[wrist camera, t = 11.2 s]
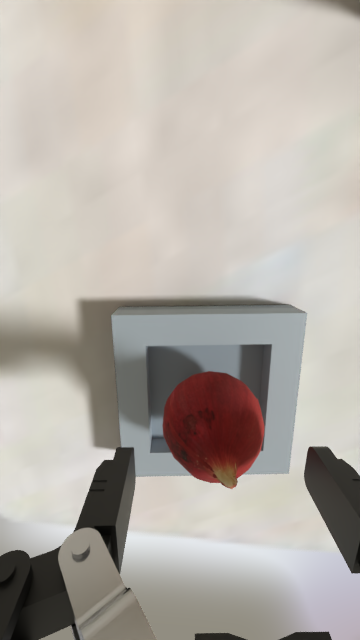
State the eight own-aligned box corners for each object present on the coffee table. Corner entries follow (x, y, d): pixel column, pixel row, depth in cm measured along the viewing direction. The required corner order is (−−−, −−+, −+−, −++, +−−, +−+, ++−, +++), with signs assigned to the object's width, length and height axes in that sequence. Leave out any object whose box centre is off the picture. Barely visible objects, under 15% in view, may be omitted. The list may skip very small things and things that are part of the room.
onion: (163, 422, 20) (152, 529, 12) (169, 349, 19) (161, 419, 11) (240, 428, 20) (277, 538, 13) (252, 356, 19) (302, 430, 11)
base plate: (119, 306, 19) (111, 315, 16) (290, 304, 19) (307, 313, 17) (129, 451, 22) (123, 476, 20) (276, 448, 22) (288, 473, 20)
